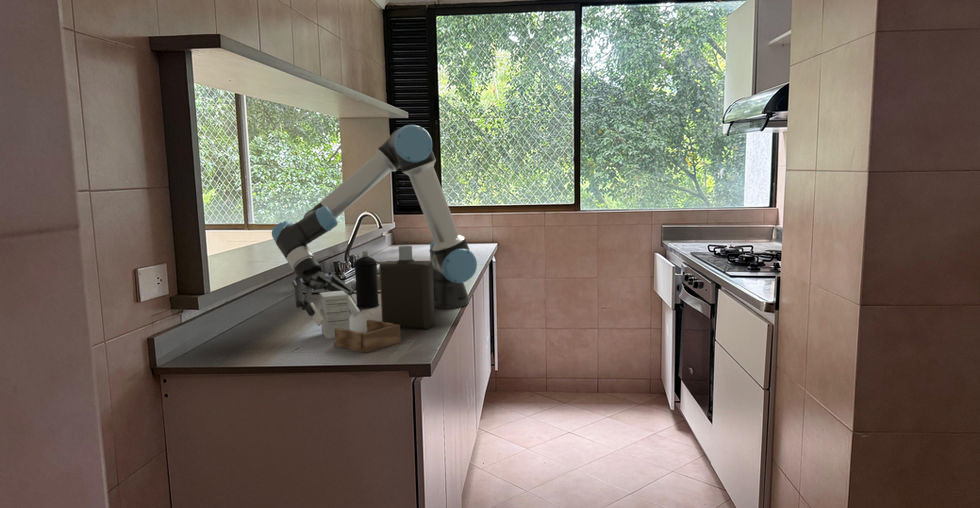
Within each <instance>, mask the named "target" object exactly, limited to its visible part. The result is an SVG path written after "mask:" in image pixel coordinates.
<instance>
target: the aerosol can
mask: <svg viewBox="0 0 980 508" xmlns="http://www.w3.org/2000/svg"><path fill="white" fill-rule="evenodd" d="M361 254H362V256H361V257H359V258H357V259H356V261H355V262H354V263H353V264H354V274H355V275H354V276H355V278H354V279H355V293H356V306H357V307H358V309H372V308H377V307H379V306H380V303H379V287H378V284H379V283H378V282H379V281H378V266H377V264H378V261H377V260H376V259H374V258H373V257H370V256H369V251H368V250H362V253H361Z"/></svg>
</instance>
